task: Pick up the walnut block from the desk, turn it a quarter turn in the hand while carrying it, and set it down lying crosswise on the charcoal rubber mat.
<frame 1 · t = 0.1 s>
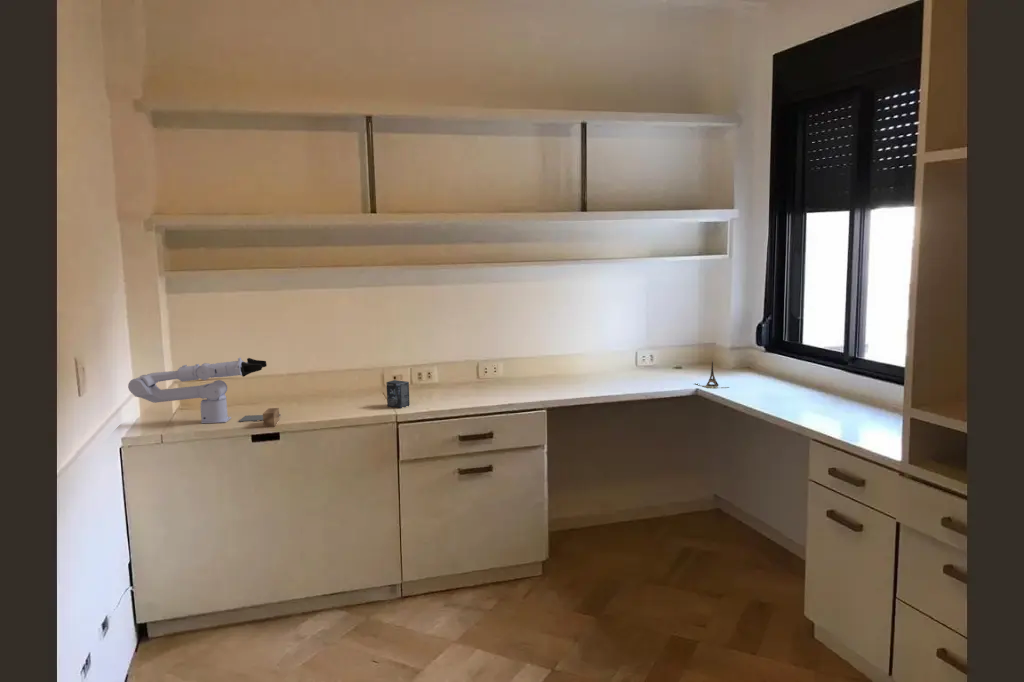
hand: (263, 365, 300), 22 cm above the worktop, tool horizontal, fingers open, 7 cm apart
walnut block: (271, 424, 294), on the worktop
box: (398, 406, 321), on the worktop
mat: (260, 418, 304), on the worktop
eiffel tower figurine: (710, 387, 349), on the worktop
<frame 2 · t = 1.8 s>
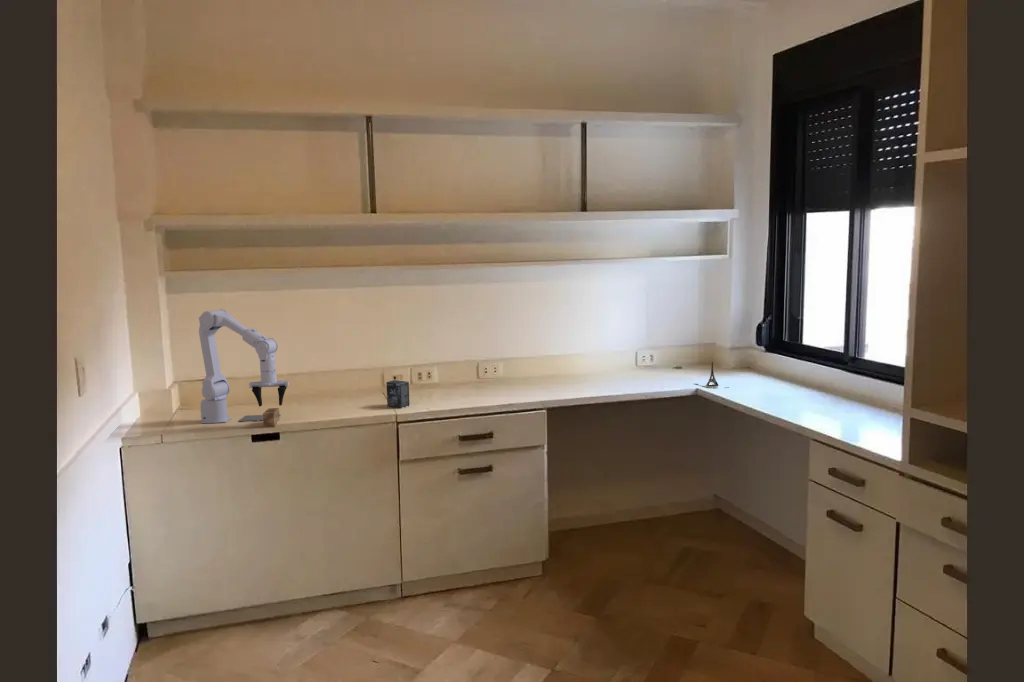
hand: (270, 405, 293), 7 cm above the worktop, tool pointing down, fingers open, 7 cm apart
nothing on the worktop moved.
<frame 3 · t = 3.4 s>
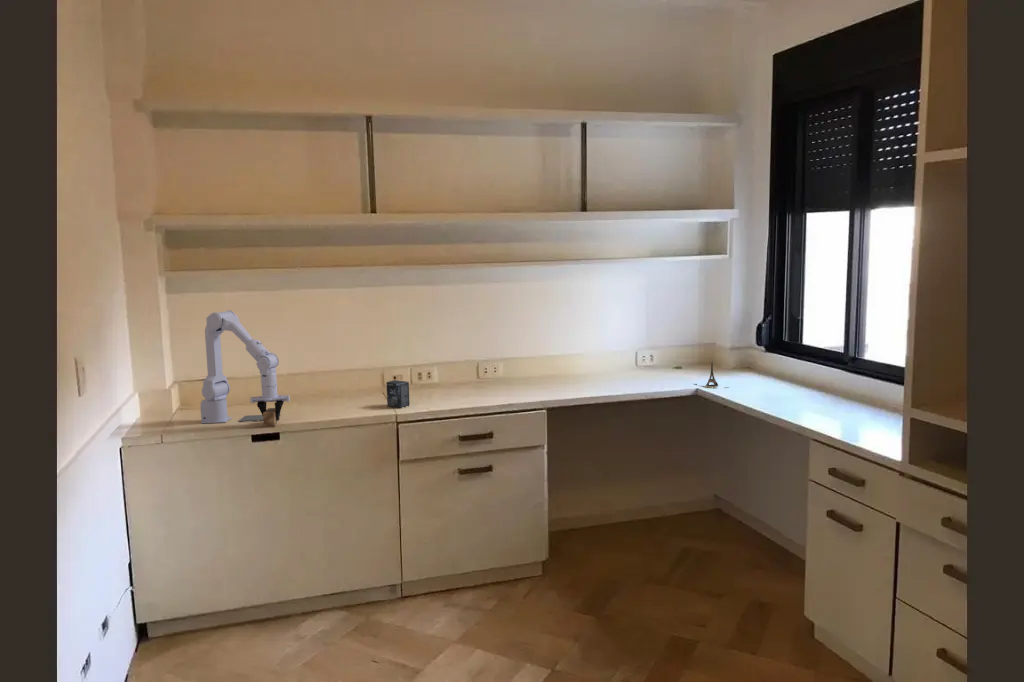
hand: (271, 420, 294), 2 cm above the worktop, tool pointing down, fingers closed on walnut block, 4 cm apart
walnut block: (271, 424, 294), on the worktop, touching gripper
everything else where it was.
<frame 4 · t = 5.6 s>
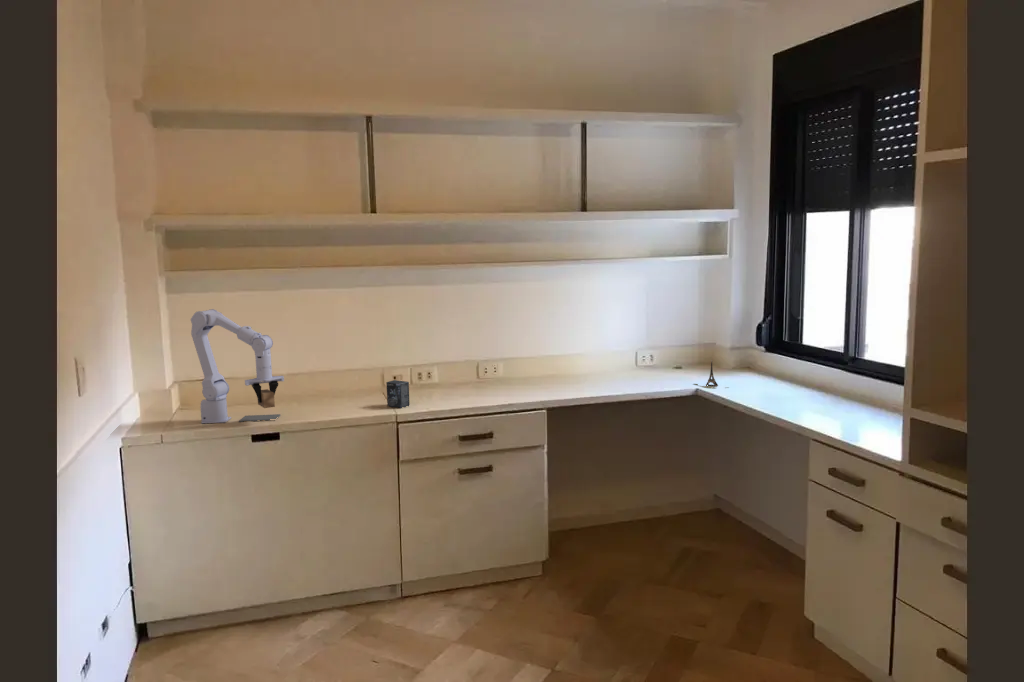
hand: (266, 401, 296), 8 cm above the worktop, tool pointing down, fingers closed on walnut block, 4 cm apart
walnut block: (266, 405, 297), point 7 cm above the worktop, touching gripper
everything else where it was.
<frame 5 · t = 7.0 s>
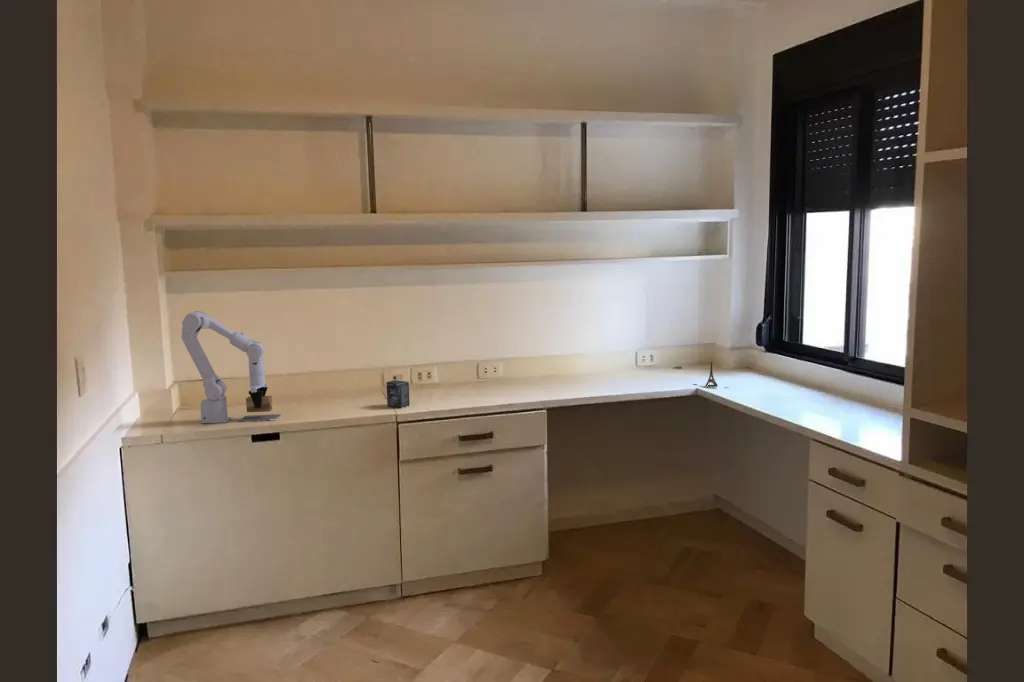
hand: (259, 406, 303), 5 cm above the worktop, tool pointing down, fingers closed on walnut block, 4 cm apart
walnut block: (259, 410, 304), point 3 cm above the worktop, touching gripper
everything else where it was.
when the fingers open (3 cm above the worktop, at t = 8.1 s): walnut block drops 1 cm, resting on mat.
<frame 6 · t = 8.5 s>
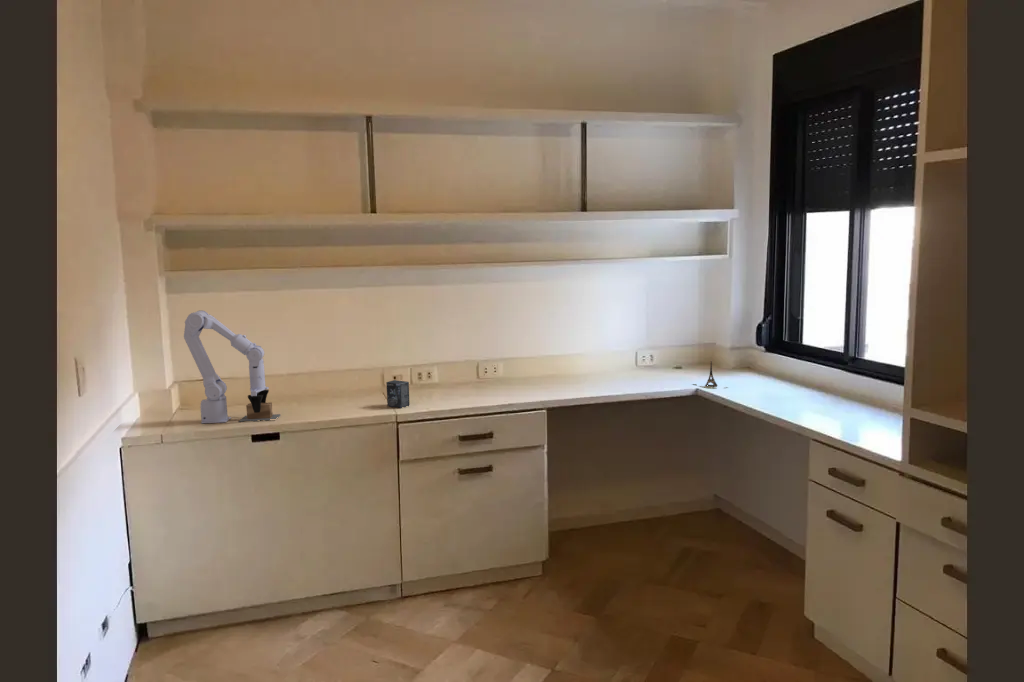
hand: (259, 410, 304), 3 cm above the worktop, tool pointing down, fingers open, 7 cm apart
walnut block: (260, 417, 304), resting on mat
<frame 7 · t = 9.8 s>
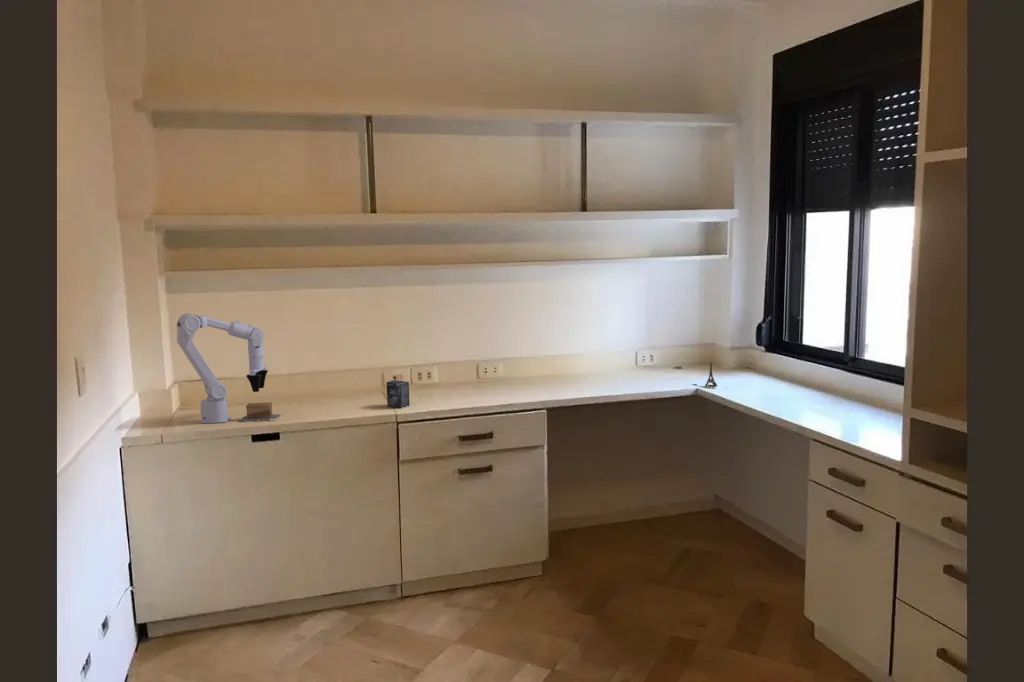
hand: (258, 389, 310), 10 cm above the worktop, tool pointing down, fingers open, 7 cm apart
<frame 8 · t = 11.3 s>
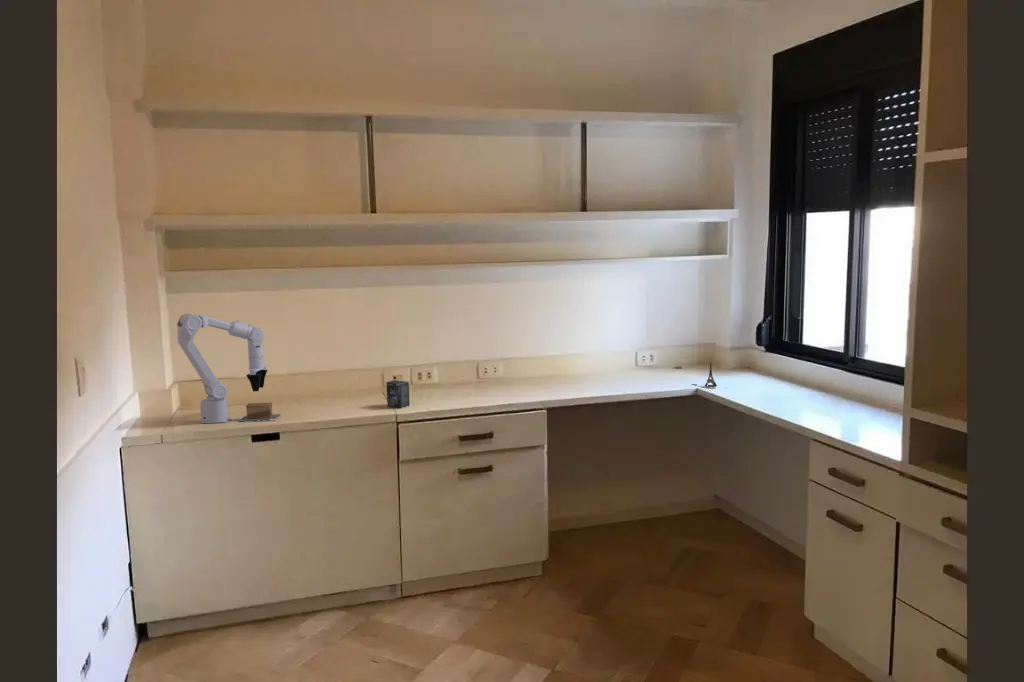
hand: (258, 389, 310), 10 cm above the worktop, tool pointing down, fingers open, 7 cm apart
at the end: walnut block inside the target area on the mat (0.0 cm from its centre), point 0.5 cm above the mat's base; walnut block touching mat; the gripper is holding nothing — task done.
